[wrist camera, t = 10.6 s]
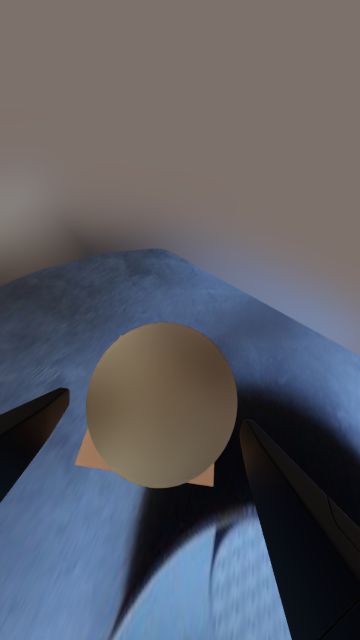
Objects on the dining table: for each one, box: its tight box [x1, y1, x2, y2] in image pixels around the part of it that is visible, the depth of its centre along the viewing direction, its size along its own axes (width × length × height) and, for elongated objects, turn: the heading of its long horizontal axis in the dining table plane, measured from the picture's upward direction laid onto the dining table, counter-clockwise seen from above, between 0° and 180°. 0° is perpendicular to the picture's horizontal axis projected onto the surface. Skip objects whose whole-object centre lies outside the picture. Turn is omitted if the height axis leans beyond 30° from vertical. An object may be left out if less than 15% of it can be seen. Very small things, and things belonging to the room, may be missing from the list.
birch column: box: [86, 322, 237, 488], centre depth 11 cm, size 5×5×13 cm
